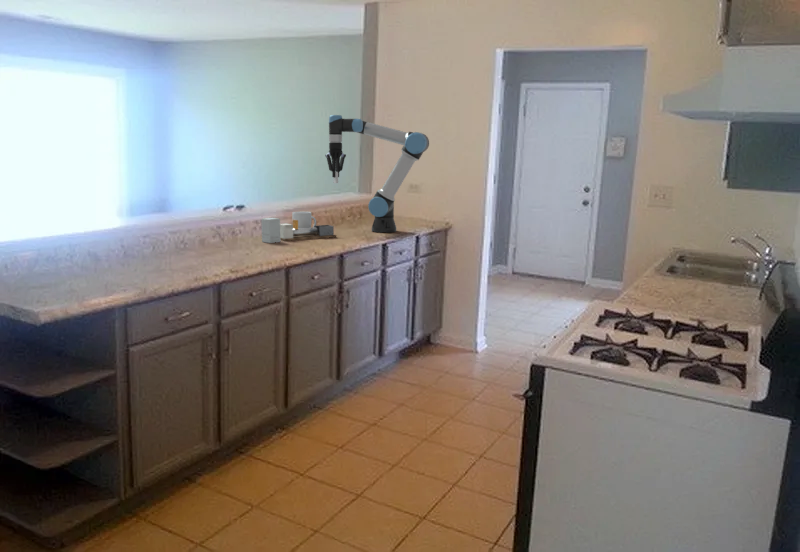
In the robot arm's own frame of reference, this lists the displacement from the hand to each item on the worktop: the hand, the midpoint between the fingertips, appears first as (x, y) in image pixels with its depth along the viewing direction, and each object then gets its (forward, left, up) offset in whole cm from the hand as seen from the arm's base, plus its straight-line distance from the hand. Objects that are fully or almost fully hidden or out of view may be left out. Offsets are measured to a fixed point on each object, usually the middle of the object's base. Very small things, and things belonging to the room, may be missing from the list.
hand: (335, 182), depth 398 cm
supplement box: (+10, +51, -30) cm, 60 cm away
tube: (+3, +32, -28) cm, 43 cm away
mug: (+11, +18, -30) cm, 36 cm away
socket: (+8, +41, -28) cm, 50 cm away
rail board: (+1, +29, -29) cm, 41 cm away
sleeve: (-4, +20, -28) cm, 35 cm away
